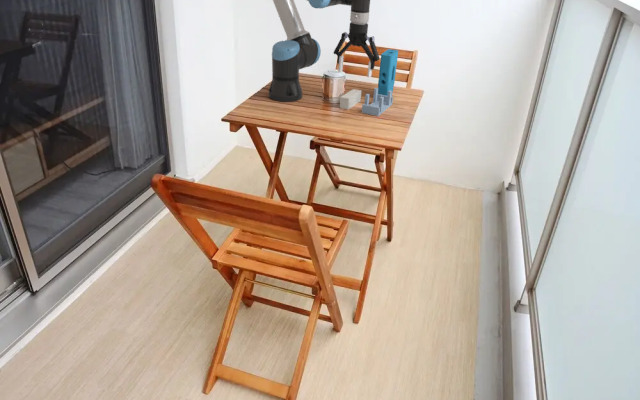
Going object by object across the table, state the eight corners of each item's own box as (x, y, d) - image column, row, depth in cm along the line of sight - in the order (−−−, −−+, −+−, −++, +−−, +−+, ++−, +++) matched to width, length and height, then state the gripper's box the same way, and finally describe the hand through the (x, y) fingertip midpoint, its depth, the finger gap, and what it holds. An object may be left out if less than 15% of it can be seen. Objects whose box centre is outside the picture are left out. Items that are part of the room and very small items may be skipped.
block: (386, 101, 218) (391, 56, 207) (376, 99, 219) (380, 54, 209) (393, 93, 227) (398, 50, 217) (383, 92, 229) (388, 49, 219)
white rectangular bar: (348, 110, 206) (348, 98, 203) (339, 108, 208) (340, 97, 205) (360, 101, 216) (361, 90, 214) (352, 99, 218) (353, 88, 215)
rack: (378, 116, 200) (380, 99, 197) (361, 112, 203) (363, 96, 200) (392, 104, 214) (394, 89, 210) (376, 101, 216) (377, 86, 213)
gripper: (327, 19, 199) (325, 71, 210) (384, 28, 190) (378, 81, 201) (335, 17, 205) (332, 67, 216) (390, 25, 196) (384, 76, 207)
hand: (354, 74), depth 208 cm, fingers open, 13 cm apart
